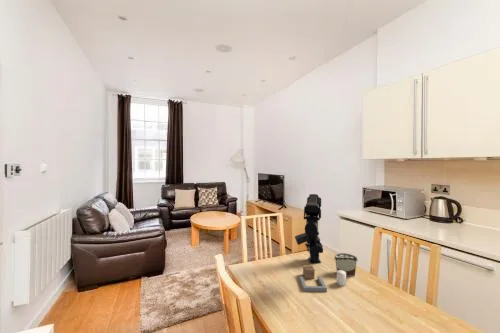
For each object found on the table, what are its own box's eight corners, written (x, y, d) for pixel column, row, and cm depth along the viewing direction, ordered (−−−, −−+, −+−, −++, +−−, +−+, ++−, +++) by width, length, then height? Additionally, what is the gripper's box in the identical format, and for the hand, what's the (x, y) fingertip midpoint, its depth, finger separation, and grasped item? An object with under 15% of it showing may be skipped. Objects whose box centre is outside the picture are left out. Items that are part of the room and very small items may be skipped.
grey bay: (299, 279, 120) (299, 275, 120) (320, 279, 120) (320, 276, 120) (303, 291, 109) (303, 287, 109) (326, 291, 109) (326, 288, 109)
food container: (353, 270, 130) (353, 253, 130) (357, 275, 124) (357, 257, 124) (331, 269, 131) (331, 252, 131) (334, 274, 125) (334, 256, 125)
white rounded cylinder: (335, 281, 118) (335, 270, 118) (344, 281, 118) (344, 270, 118) (338, 286, 114) (338, 274, 113) (347, 286, 113) (347, 274, 113)
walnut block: (303, 274, 126) (303, 265, 126) (312, 274, 126) (312, 265, 126) (304, 278, 121) (304, 269, 121) (314, 279, 121) (314, 269, 121)
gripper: (293, 224, 125) (293, 252, 125) (299, 234, 106) (299, 268, 106) (313, 224, 124) (313, 252, 124) (323, 235, 106) (323, 268, 106)
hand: (312, 259), depth 115 cm, fingers closed
